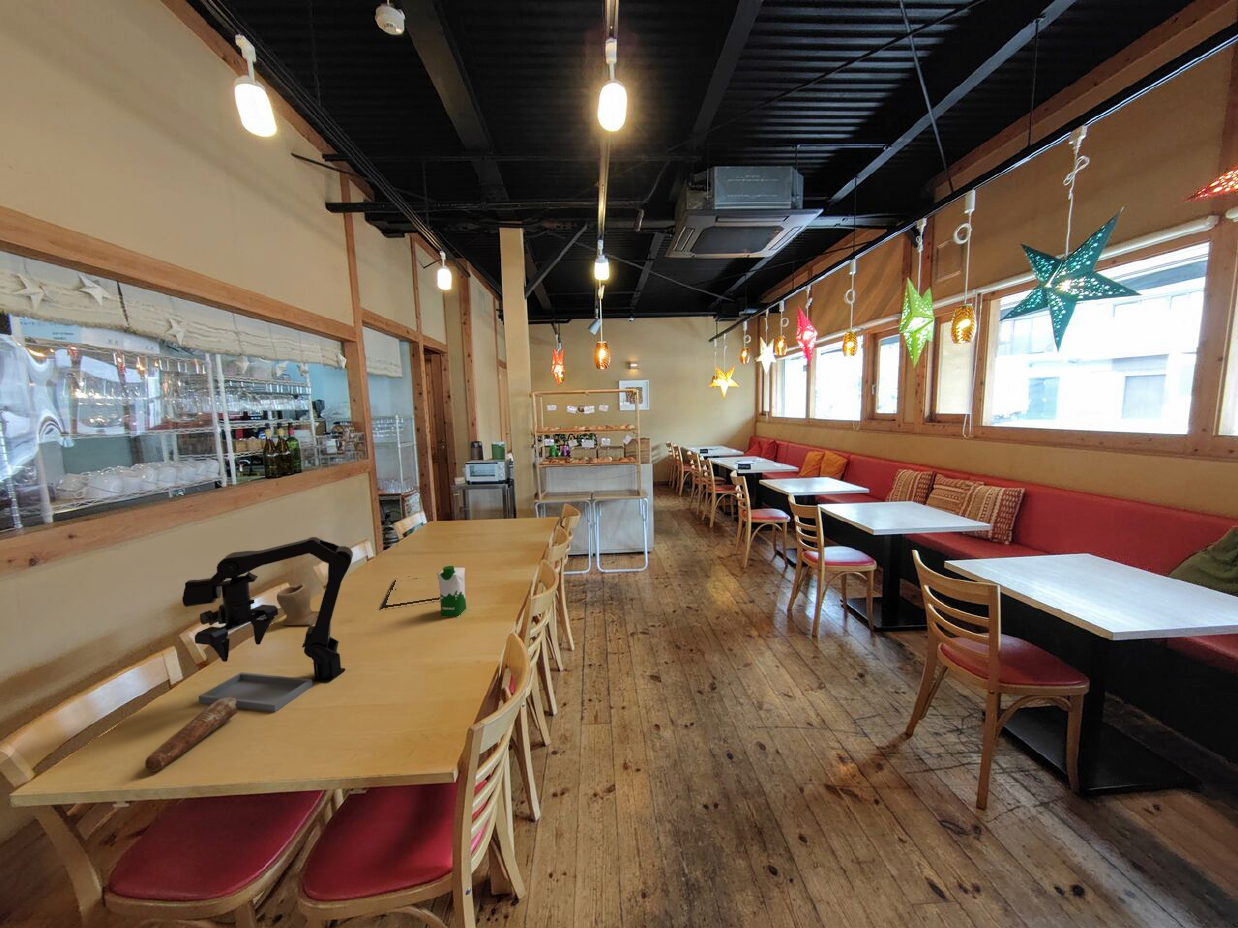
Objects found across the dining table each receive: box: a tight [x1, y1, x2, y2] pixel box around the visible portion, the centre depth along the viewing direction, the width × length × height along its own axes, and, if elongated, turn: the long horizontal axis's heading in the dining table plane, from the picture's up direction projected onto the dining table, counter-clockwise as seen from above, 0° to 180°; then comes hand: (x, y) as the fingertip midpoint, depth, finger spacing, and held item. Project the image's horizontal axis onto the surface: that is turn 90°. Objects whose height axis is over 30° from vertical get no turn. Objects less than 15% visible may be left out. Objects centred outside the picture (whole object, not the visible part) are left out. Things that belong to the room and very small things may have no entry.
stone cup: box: [276, 583, 320, 626], centre depth 171 cm, size 15×12×15 cm
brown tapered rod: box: [144, 697, 239, 773], centre depth 108 cm, size 6×19×6 cm, turn 174°
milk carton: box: [437, 565, 467, 617], centre depth 175 cm, size 9×9×20 cm
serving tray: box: [198, 671, 313, 713], centre depth 127 cm, size 25×12×2 cm, turn 80°
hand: (242, 652), depth 125 cm, fingers open, 9 cm apart
